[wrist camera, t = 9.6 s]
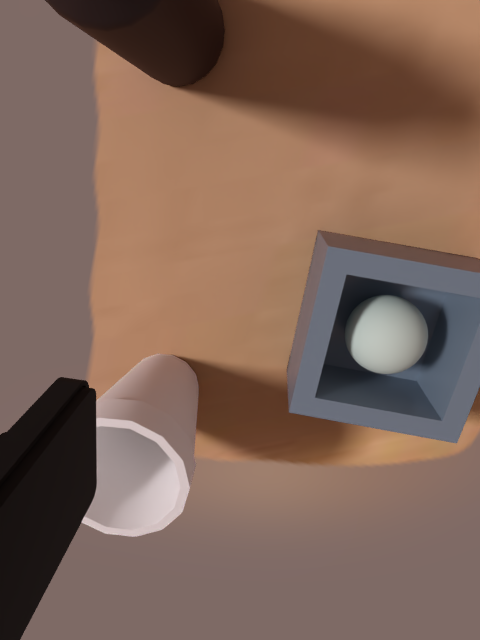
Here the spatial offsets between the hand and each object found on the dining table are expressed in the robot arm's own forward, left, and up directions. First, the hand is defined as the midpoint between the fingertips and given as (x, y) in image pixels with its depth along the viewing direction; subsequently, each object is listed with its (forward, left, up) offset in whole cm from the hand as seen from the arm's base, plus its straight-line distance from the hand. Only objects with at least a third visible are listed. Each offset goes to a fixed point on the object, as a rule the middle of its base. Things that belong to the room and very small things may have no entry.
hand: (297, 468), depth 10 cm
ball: (+5, +9, -24) cm, 26 cm away
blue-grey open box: (+5, +9, -28) cm, 29 cm away
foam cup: (+15, -8, -28) cm, 32 cm away
